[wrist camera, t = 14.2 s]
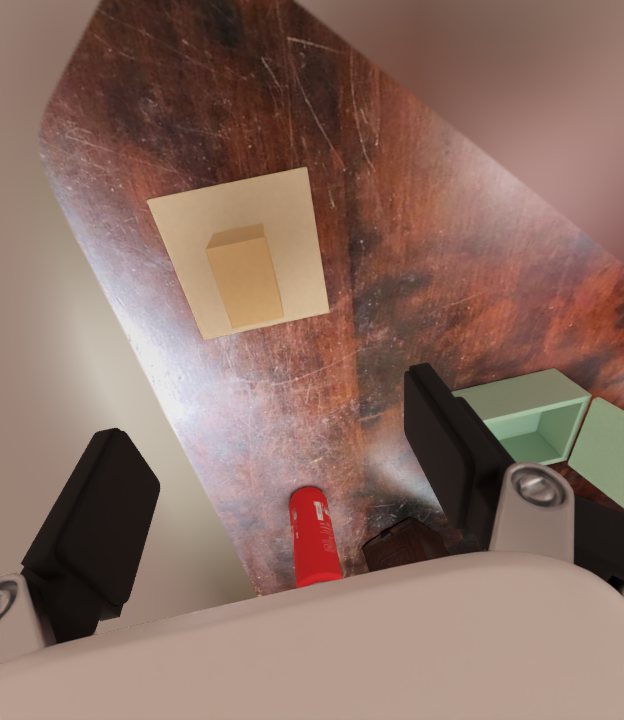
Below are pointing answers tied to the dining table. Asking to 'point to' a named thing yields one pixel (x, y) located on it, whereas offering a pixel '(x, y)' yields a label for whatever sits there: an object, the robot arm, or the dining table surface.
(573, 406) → the lunchbox
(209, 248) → the tan wooden block
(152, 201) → the placemat
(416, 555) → the manual coffee grinder
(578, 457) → the lunchbox lid
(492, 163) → the dining table surface
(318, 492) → the beverage can
